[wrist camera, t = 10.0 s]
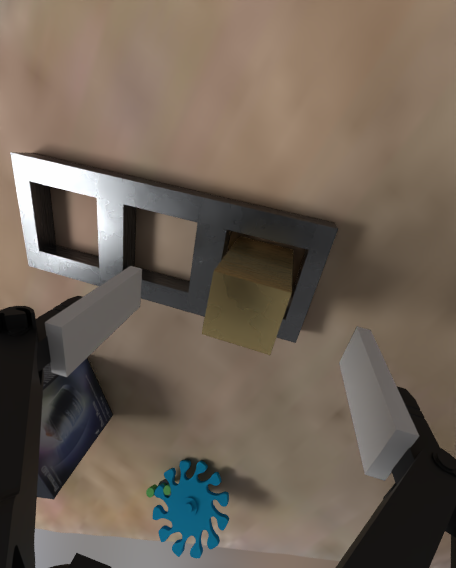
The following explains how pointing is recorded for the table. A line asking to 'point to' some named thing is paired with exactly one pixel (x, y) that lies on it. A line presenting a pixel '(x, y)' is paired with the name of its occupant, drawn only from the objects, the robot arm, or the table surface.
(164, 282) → the grey flat frame
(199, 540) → the gear
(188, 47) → the table surface
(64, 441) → the small box
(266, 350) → the olive yellow block
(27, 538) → the robot arm
